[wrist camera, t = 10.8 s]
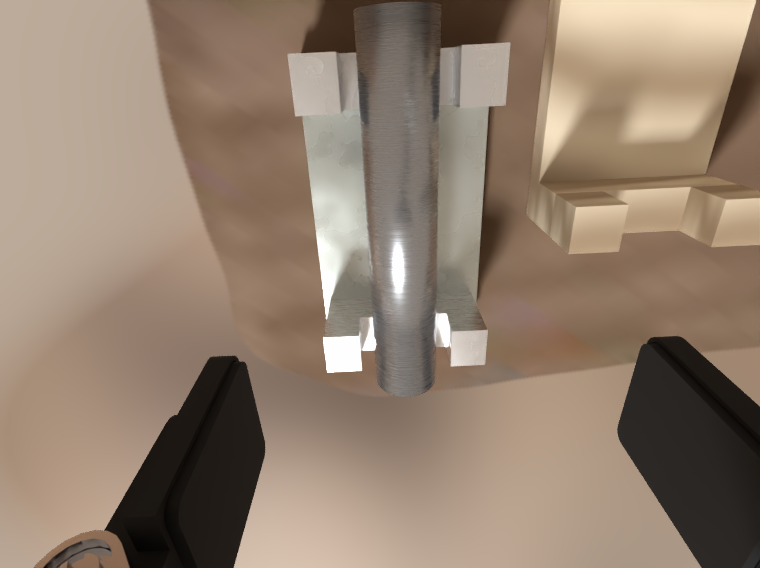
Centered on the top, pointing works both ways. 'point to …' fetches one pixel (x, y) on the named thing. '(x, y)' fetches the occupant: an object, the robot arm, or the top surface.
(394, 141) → the axle
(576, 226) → the bearing stand
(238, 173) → the top surface
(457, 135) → the v block stand
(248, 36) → the top surface
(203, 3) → the top surface
